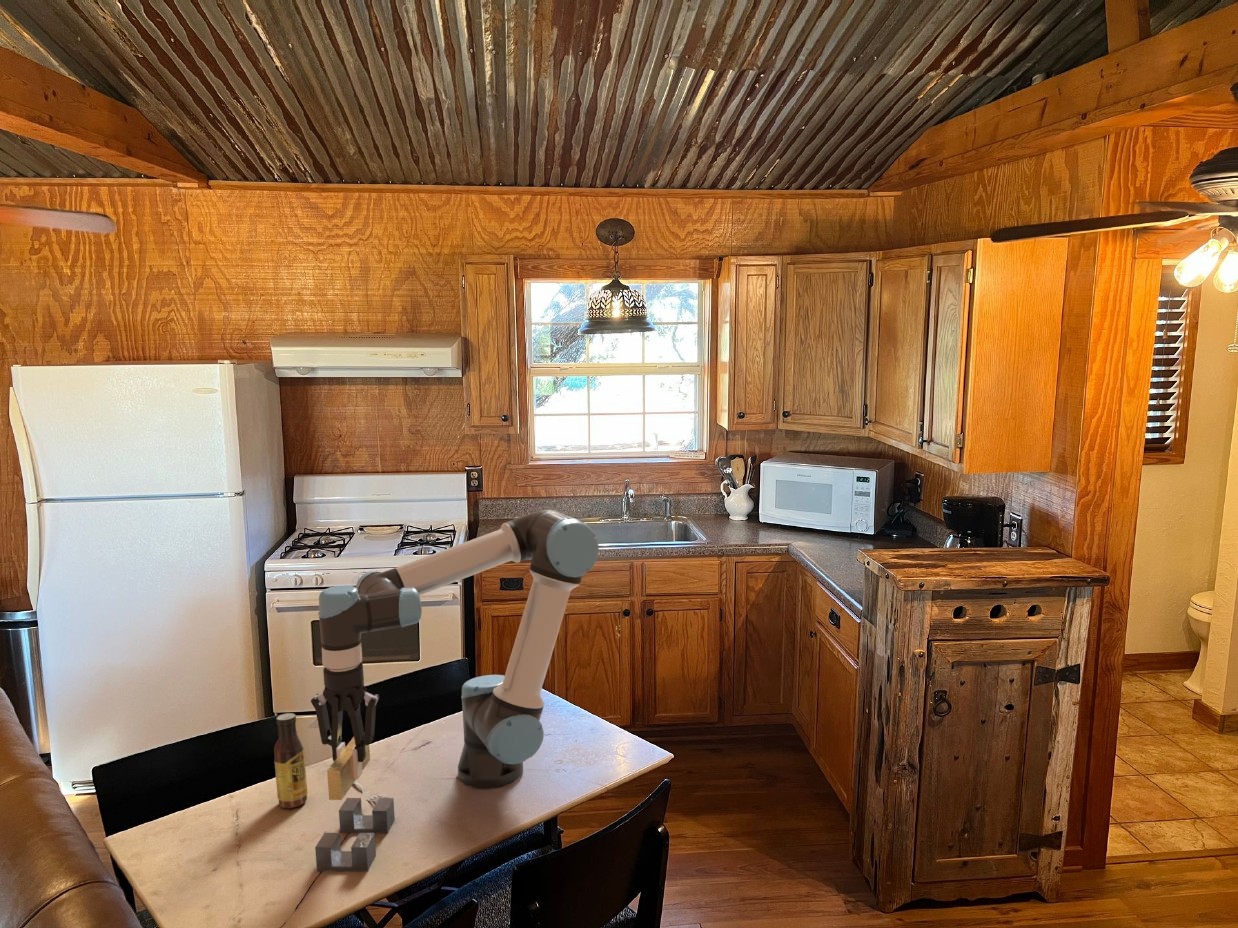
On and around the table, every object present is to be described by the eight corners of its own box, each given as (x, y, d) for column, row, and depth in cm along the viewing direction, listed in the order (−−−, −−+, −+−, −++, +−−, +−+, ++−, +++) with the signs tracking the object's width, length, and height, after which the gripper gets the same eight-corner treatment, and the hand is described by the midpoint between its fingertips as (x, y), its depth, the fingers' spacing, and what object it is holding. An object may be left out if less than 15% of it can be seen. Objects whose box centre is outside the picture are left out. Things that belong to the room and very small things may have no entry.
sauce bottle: (299, 810, 193) (290, 723, 190) (272, 809, 194) (263, 723, 191) (314, 795, 199) (305, 711, 197) (288, 794, 200) (279, 710, 198)
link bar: (370, 759, 187) (368, 732, 186) (341, 799, 171) (339, 770, 170) (358, 759, 187) (356, 732, 186) (329, 799, 171) (327, 770, 170)
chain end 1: (394, 819, 189) (393, 797, 188) (387, 832, 184) (386, 810, 183) (348, 819, 189) (346, 797, 189) (340, 832, 184) (338, 810, 184)
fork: (337, 766, 213) (336, 759, 213) (389, 803, 196) (389, 796, 196) (324, 771, 211) (324, 764, 211) (376, 809, 194) (375, 801, 194)
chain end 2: (376, 855, 176) (374, 832, 175) (368, 871, 171) (366, 847, 170) (326, 855, 177) (324, 832, 176) (317, 870, 172) (315, 847, 171)
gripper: (387, 657, 178) (394, 767, 182) (312, 657, 179) (320, 765, 183) (375, 672, 171) (382, 785, 175) (296, 671, 172) (305, 784, 176)
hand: (350, 775), depth 179 cm, fingers closed on link bar, 2 cm apart
